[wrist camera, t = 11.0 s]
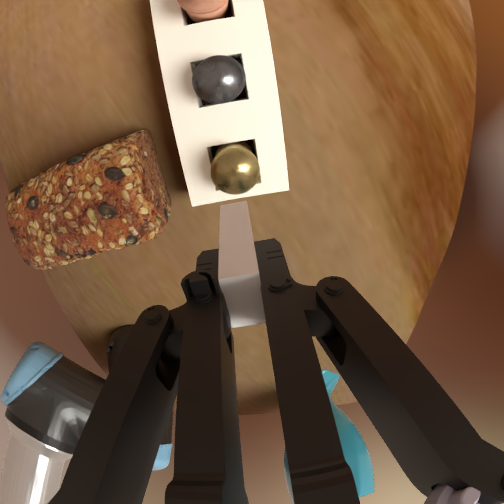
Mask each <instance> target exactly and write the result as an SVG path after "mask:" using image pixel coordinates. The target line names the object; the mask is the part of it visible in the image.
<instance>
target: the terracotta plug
mask: <svg viewBox="0 0 504 504" xmlns="http://www.w3.org/2000/svg"><path fill="white" fill-rule="evenodd" d="M177 2H178V3H179V5H180V6H181V7H182V8H183V9H184V10H186V12H187V13H188V15H189V17H190V18H191V19H192V20H193V21H195V22H197V23H200V22H205V21H210V20H216V19H222V18H223V17H224V16H225V15H226V13H227V11H228V0H177Z"/></svg>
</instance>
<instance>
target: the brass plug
mask: <svg viewBox="0 0 504 504" xmlns="http://www.w3.org/2000/svg"><path fill="white" fill-rule="evenodd" d="M210 174H211V178H212V181H213V183H214V185H215V186H216V187H217V188H218V189H219V190H221V191H222V192H224V193H227V194H232V195H237V194H242V193H245V192H247V191H249V190H250V189H252V188H253V187H254V186H255V184H256V183H257V181H258V179H259V175H260V167H259V163H258V161H257V159H256V157H255V156H254V154H253V153H252V150H251V148H250V146H249V145H248V144H247V143H246V142H244V141H238V142H232V143H226V144H220V145H219V147H218V148H217V150H216V155H215V157H214V159H213V161H212V164H211V170H210Z"/></svg>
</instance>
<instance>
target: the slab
mask: <svg viewBox="0 0 504 504" xmlns="http://www.w3.org/2000/svg"><path fill="white" fill-rule="evenodd" d="M230 4H231V10H232V16H233V17H229V18H222V19H216V20H210V21H205V22H200V23H195V24H191V25H188V21H187V16H186V10H184V9H183V8H182V7H181V6H180V5H179V3H178V2H177V0H150V6H151V13H152V19H153V26H154V32H155V38H156V44H157V49H158V55H159V61H160V66H161V71H162V76H163V82H164V87H165V92H166V97H167V101H168V106H169V111H170V116H171V120H172V125H173V129H174V134H175V138H176V142H177V147H178V151H179V155H180V159H181V164H182V168H183V172H184V176H185V180H186V184H187V188H188V192H189V196H190V200H191V203H192V207H193V206H198V205H203V204H208V203H214V202H219V201H225V200H231V199H236V198H242V197H248V196H255V195H261V194H267V193H274V192H281V191H288V190H289V183H288V173H287V163H286V154H285V145H284V136H283V128H282V120H281V112H280V104H279V97H278V89H277V82H276V75H275V69H274V62H273V56H272V49H271V43H270V37H269V31H268V26H267V20H266V14H265V9H264V4H263V0H230ZM215 55H225V56H229V57H232V58H234V59H235V58H240V62H241V65H242V67H243V69H244V71H245V75H246V82H245V92H246V98H242V99H235V100H232V101H230V102H227V103H223V104H208V105H202V99H201V98H200V97H199V96H198V95H197V94H196V92H195V91H194V88H193V85H192V76H193V72H194V70H195V68H196V67H195V66H196V65H198V64H199V63H200V62H202V61H203V60H204V59H206V58H208V57H211V56H215ZM250 139H253V144H254V150H255V157H256V159H257V161H258V163H259V167H260V175H259V179H258V181H257V183H256V184H255V186H254V187H253V188H252V189H250V190H249V191H247V192H245V193H242V194H237V195H232V194H227V193H224V192H222V191H221V190H219V189H218V188H217V187H216V186H215V185H214V183H213V181H212V178H211V174H210V170H211V164H212V161H213V156H212V151H211V146H215V145H220V144H226V143H232V142H238V141H244V140H250Z"/></svg>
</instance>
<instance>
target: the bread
mask: <svg viewBox="0 0 504 504" xmlns="http://www.w3.org/2000/svg"><path fill="white" fill-rule="evenodd" d="M5 205H6V210H7V219H8V223H9V228H10V232H11V234H12V239H13V242H14V243H15V245H16V248H17V249H18V251H19V253H20V254H21V255H22V257H23V259H24V261H25V262H26V263H27V264H28V265H31V266H32V267H34V268H35V269H39V270H44V269H47V268H53V267H55V266H58V265H66V264H68V263H73V262H75V261H77V260H83V259H84V258H87V259H89V258H91V257H93V256H94V255H97V254H100V253H101V252H104V251H107V250H110V249H121V248H125V247H128V246H130V245H134V244H137V245H139V244H141V243H144V242H146V241H149V240H152V239H154V238H156V237H157V236H158V235H159V234H161V233H162V232H163V230H164V229H165V227H166V223H167V222H168V217H169V216H170V214H171V212H170V210H171V208H170V207H171V200H170V196H169V194H168V192H167V187H166V183H165V180H164V178H163V176H162V172H161V169H160V166H159V163H158V158H157V153H156V150H155V147H154V144H153V140H152V137H151V135H150V132H149V131H148V130H147V129H145V130H140V131H137V132H135V133H132V134H129V135H127V136H124V137H121V138H119V139H116V140H113V141H111V142H109V143H107V144H104V145H102V146H99V147H96V148H94V149H91V150H89V151H87V152H85V153H83V154H79V155H75V156H73V157H71V158H69V159H68V160H67V161H64V162H63V163H59V164H56V165H55V166H53V167H51V168H49V169H48V170H47V171H46V172H43V173H40V175H38V176H36V177H34V178H31V179H29V180H28V181H27V182H24V183H22V184H20V185H19V186H18V187H16V188H15V189H13V190H12V191H11V193H10V194H9V196H7V197H6V201H5Z"/></svg>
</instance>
